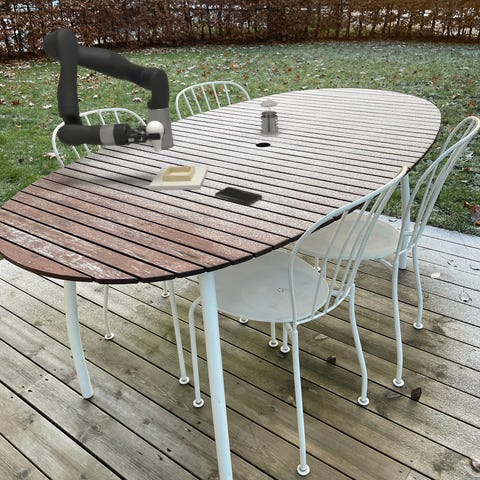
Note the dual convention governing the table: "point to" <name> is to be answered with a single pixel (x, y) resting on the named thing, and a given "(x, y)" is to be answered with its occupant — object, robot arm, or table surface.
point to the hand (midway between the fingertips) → (162, 133)
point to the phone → (238, 196)
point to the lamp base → (179, 178)
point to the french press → (269, 118)
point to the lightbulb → (155, 128)
